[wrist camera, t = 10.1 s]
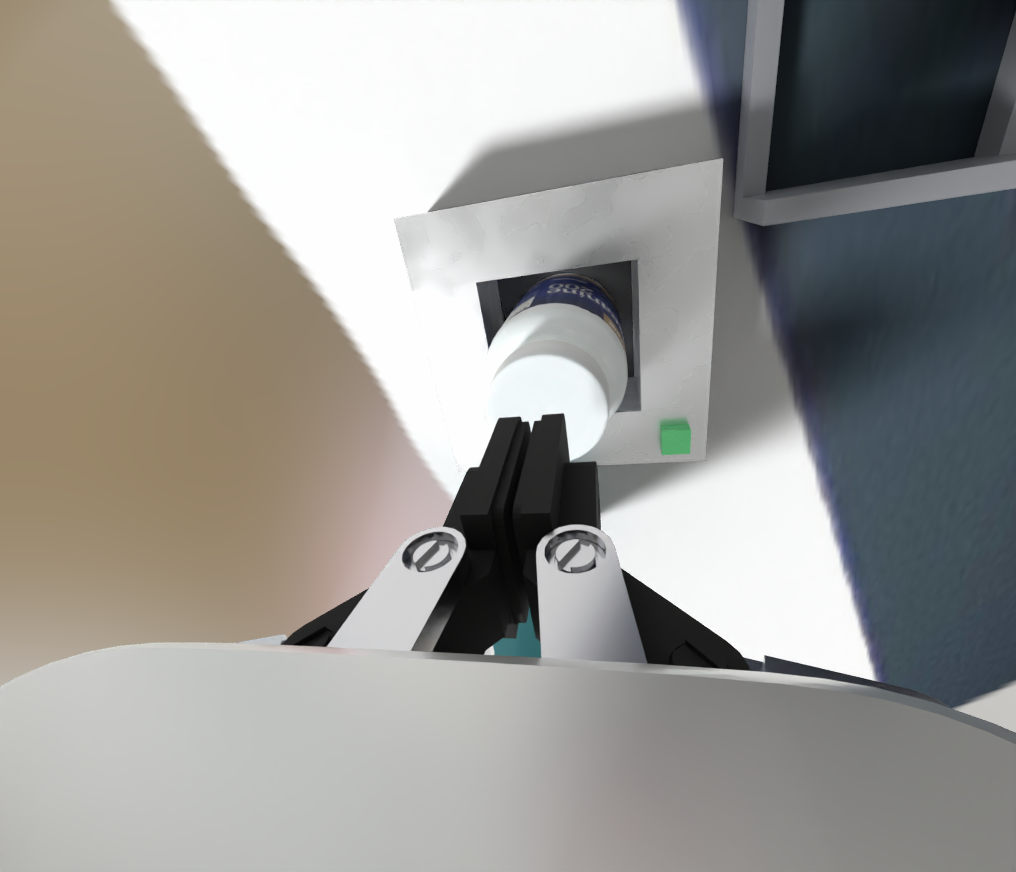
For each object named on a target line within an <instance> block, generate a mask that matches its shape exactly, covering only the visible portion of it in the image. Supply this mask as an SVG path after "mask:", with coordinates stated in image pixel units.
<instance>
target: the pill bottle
mask: <svg viewBox="0 0 1016 872" xmlns="http://www.w3.org/2000/svg"><path fill="white" fill-rule="evenodd" d="M627 379H628V368H627V357H626V351H625V344H624V337H623V330H622V324H621V318H620V314H619V310H618V307H617V305H616V303H615V301H614V299H613V297H612V296H611V295H610V293H609V292H608V291H607V290H606V289H605V288H604V287H603V286H602V285H601V284H599V283H598V282H596V281H594V280H593V279H591V278H589V277H586V276H583V275H578V274H574V273H572V274H571V273H562V274H556V275H552V276H549V277H547V278H545V279H543V280H541V281H539V282H537V283H536V284H535V285H533V286H532V287H531V288H530V289H529V290H528V291H527V292H526V293H525V294H524V295H523V297H522V298H521V299H520V301H519V302H518V304H517V305H516V306H515V308H514V309H513V311H512V312H511V314H510V315H509V316H508V318H507V319H506V321H505V322H504V324H503V325H502V327H501V328H500V329H499V331H498V332H497V334H496V335H495V337H494V339H493V341H492V343H491V345H490V347H489V350H488V353H487V356H486V360H485V367H484V380H485V387H486V391H487V394H488V395H487V400H486V414H487V418H488V422H489V425H490V427H491V429H492V431H494V428H495V426H496V423H497V421H498V419H499V418H504V417H518V416H520V417H521V419H522V422H525V421H528V422H529V424H530V429H531V432H532V428H533V424H534V421H539V420H541V418H542V415H546V414H559V413H564V415H565V422H566V431H567V439H568V448H569V457H570V461H572V460H574V459H577V458H579V457H581V456H582V455H584V454H586V453H587V452H588V451H590V450H591V449H592V448H593V447H594V446H595V445H596V444H597V443H598V441H599V440H600V439H601V437H602V436H603V434H604V431H605V429H606V426H607V423H608V421H609V420H610V419H611V417H612V416H613V415H614V414H615V412H616V411H617V409H618V408H619V406H620V404H621V402H622V399H623V397H624V394H625V390H626V386H627Z"/></svg>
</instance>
